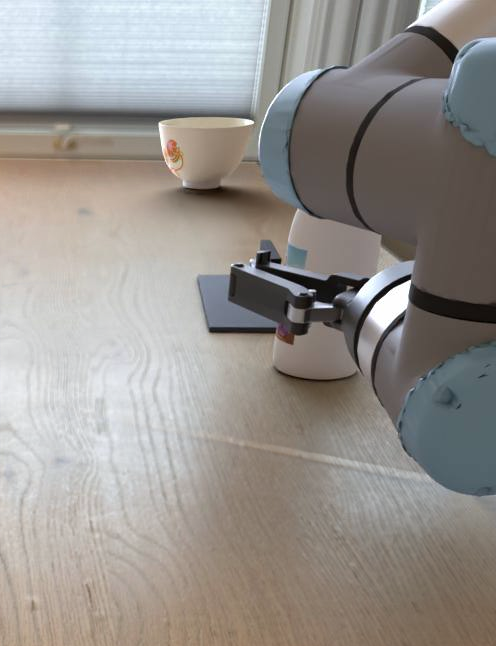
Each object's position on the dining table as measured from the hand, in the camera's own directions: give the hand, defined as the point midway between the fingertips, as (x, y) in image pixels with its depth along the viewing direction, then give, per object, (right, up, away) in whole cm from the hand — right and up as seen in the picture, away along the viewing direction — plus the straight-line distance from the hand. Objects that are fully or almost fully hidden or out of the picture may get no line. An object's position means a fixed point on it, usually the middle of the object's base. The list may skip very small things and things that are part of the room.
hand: (352, 257), depth 76 cm
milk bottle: (+1, -5, +13) cm, 14 cm away
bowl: (+6, +50, +96) cm, 108 cm away
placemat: (+3, +7, +31) cm, 32 cm away
